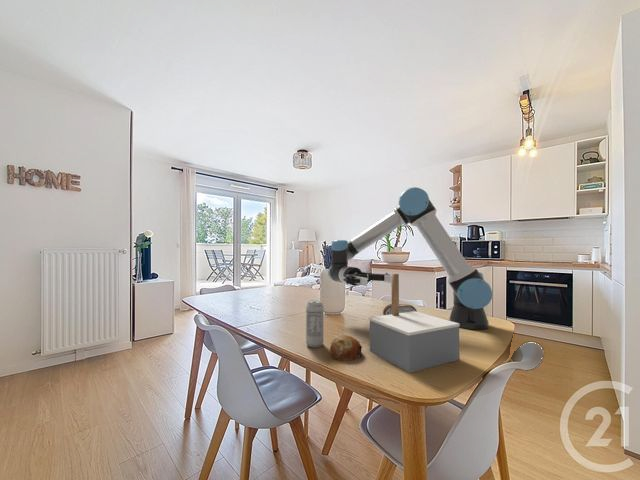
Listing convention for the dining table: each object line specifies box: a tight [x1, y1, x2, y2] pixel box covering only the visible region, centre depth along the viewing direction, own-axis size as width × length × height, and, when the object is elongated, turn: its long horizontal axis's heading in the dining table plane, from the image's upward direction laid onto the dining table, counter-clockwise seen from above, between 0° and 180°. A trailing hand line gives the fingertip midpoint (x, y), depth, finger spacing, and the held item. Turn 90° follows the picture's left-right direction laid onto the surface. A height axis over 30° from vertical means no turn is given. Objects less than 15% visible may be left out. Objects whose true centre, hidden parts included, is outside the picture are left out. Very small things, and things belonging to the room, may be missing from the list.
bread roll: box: [329, 334, 363, 361], centre depth 89 cm, size 10×10×8 cm
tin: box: [382, 303, 418, 316], centre depth 125 cm, size 15×3×8 cm, turn 84°
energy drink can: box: [305, 300, 324, 348], centre depth 98 cm, size 6×6×15 cm
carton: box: [369, 320, 461, 374], centre depth 88 cm, size 20×18×10 cm
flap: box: [367, 273, 460, 336], centre depth 89 cm, size 20×18×15 cm
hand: (381, 280), depth 102 cm, fingers open, 13 cm apart
